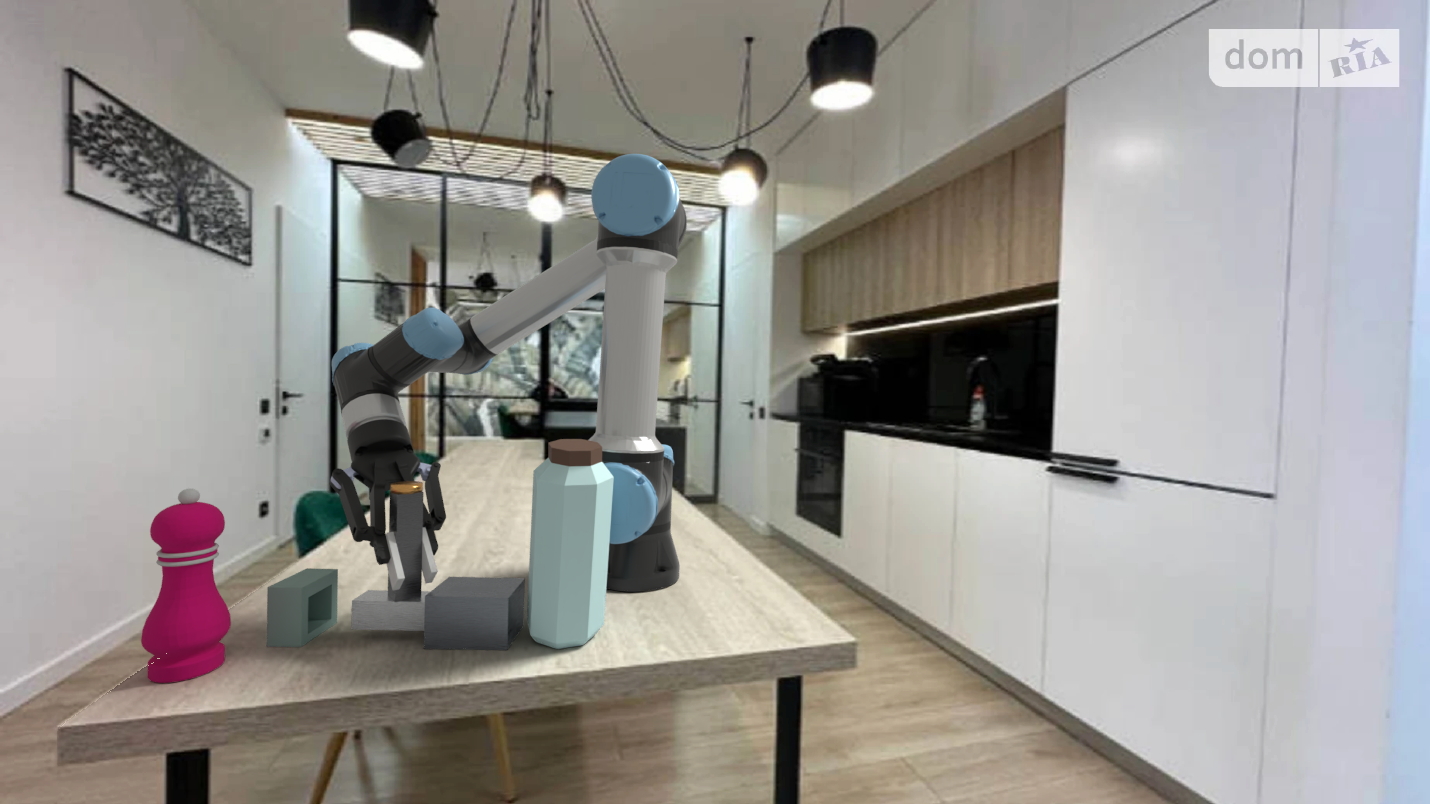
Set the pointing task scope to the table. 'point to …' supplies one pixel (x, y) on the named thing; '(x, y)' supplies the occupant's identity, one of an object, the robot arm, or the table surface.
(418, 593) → the gray hammer
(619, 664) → the table surface
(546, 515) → the water bottle
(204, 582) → the pepper mill
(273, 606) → the socket block
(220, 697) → the table surface
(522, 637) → the table surface
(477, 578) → the charcoal rectangular brick
